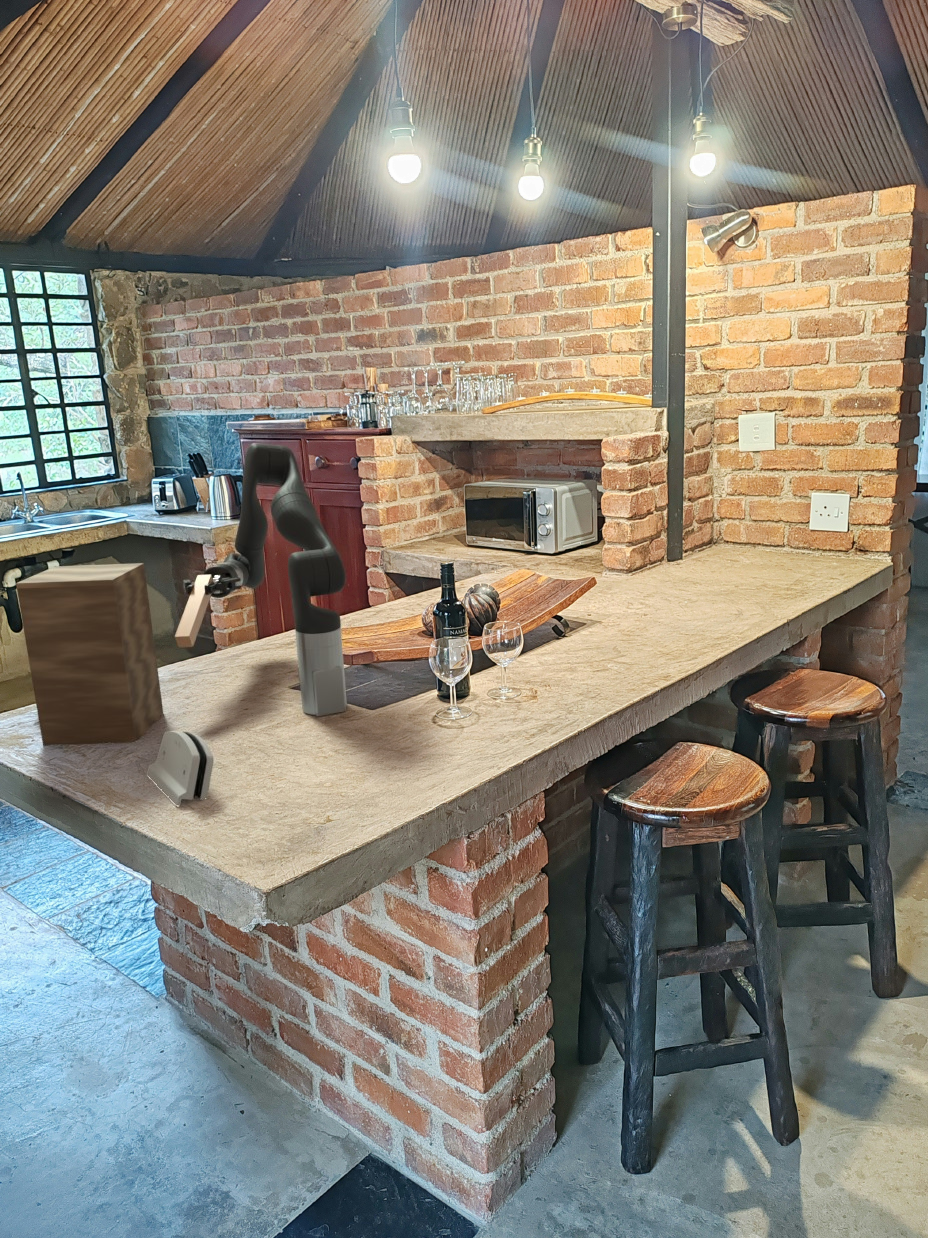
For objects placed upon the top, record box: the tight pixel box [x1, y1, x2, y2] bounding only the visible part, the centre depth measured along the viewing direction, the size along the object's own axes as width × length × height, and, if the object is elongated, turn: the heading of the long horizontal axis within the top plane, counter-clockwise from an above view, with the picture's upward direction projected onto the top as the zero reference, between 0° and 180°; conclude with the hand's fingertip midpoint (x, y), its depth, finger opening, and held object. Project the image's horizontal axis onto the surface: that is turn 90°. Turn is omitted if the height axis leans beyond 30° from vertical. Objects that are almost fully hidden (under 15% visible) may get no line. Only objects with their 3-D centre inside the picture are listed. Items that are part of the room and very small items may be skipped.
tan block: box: [174, 574, 213, 648], centre depth 193 cm, size 20×3×3 cm, turn 177°
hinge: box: [146, 730, 214, 806], centre depth 153 cm, size 17×5×10 cm, turn 36°
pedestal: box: [15, 562, 164, 746], centre depth 178 cm, size 16×18×32 cm
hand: (198, 590), depth 195 cm, fingers closed on tan block, 3 cm apart
